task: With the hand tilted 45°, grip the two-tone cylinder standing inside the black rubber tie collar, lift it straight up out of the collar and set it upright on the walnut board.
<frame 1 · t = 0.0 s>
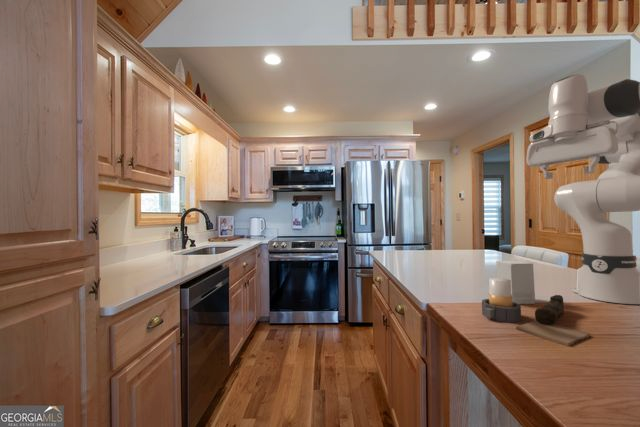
hand: (567, 176, 79), 39 cm above the counter, tool pointing down, fingers open, 8 cm apart
supplement box: (515, 301, 87), on the counter
tie collar: (501, 316, 74), on the counter
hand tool: (550, 317, 72), on the counter, touching walnut board
walnut board: (551, 332, 63), on the counter
two-tone cylinder: (500, 297, 74), in the tie collar
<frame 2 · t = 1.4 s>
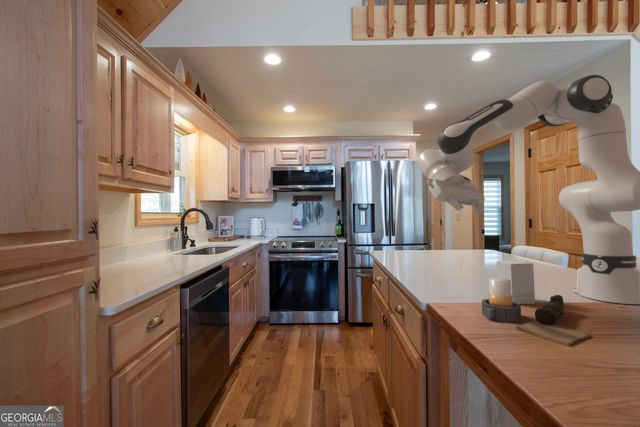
hand: (471, 210, 84), 30 cm above the counter, tool tilted 45°, fingers open, 8 cm apart
nothing on the counter moved.
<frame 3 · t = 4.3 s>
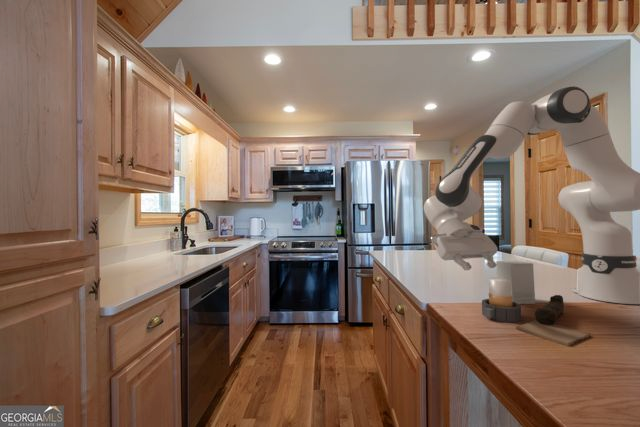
hand: (481, 268, 80), 12 cm above the counter, tool tilted 45°, fingers open, 8 cm apart
nothing on the counter moved.
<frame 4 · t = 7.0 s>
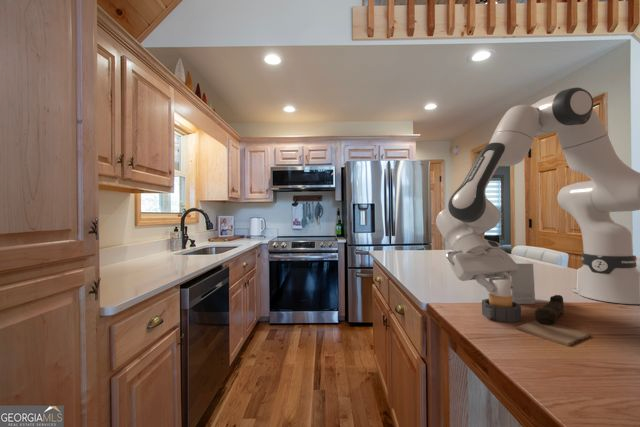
hand: (502, 289, 74), 7 cm above the counter, tool tilted 45°, fingers closed on two-tone cylinder, 5 cm apart
two-tone cylinder: (500, 297, 74), in the tie collar, touching gripper
everything else where it was.
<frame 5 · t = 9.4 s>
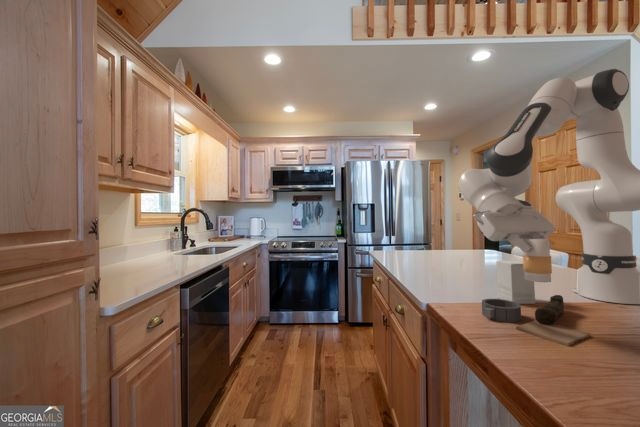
hand: (539, 249, 65), 19 cm above the counter, tool tilted 45°, fingers closed on two-tone cylinder, 5 cm apart
two-tone cylinder: (536, 259, 66), point 17 cm above the counter, touching gripper
everything else where it was.
when the fingers open (9 cm above the counter, at t = 12.3 s): two-tone cylinder drops 2 cm, resting on walnut board.
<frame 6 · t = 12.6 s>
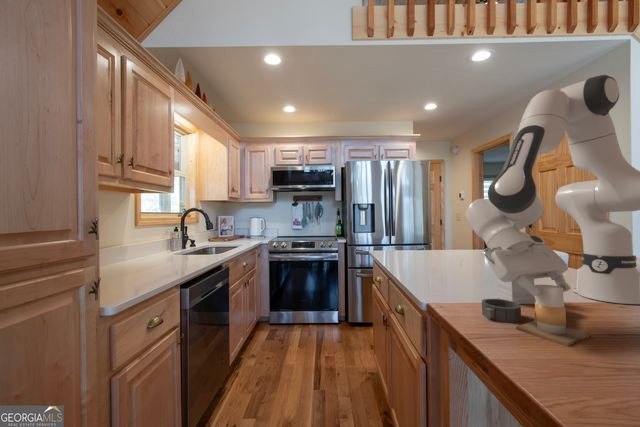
hand: (552, 292, 63), 9 cm above the counter, tool tilted 45°, fingers open, 8 cm apart
two-tone cylinder: (549, 308, 63), on the walnut board, point 6 cm above the counter
everything else where it was.
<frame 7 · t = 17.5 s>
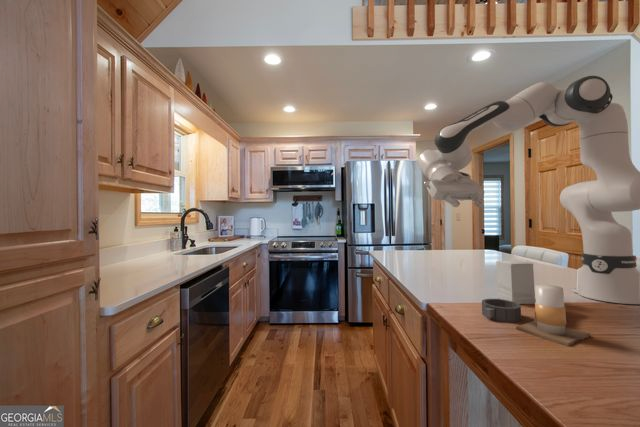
hand: (468, 205, 89), 31 cm above the counter, tool tilted 45°, fingers open, 8 cm apart
nothing on the counter moved.
at the end: two-tone cylinder inside the target area on the walnut board (0.3 cm from its centre), point 5.6 cm above the walnut board's base; two-tone cylinder tilted 1°; the gripper is holding nothing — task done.
